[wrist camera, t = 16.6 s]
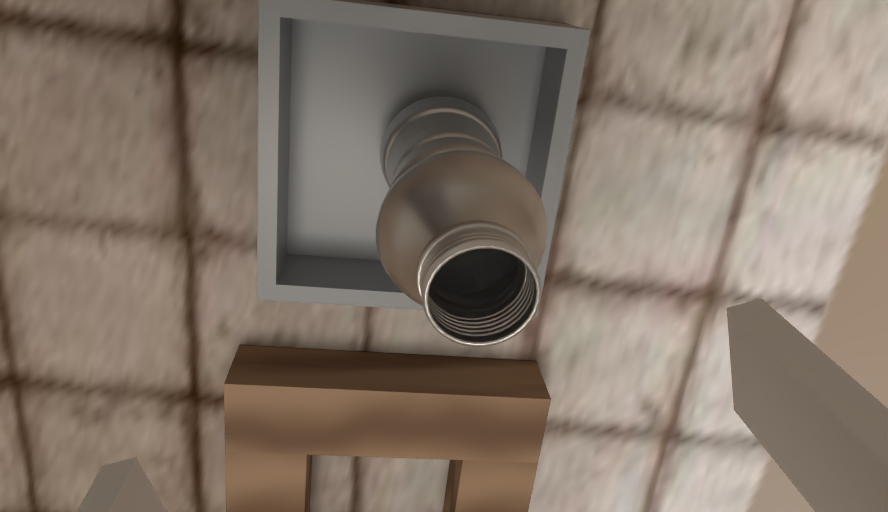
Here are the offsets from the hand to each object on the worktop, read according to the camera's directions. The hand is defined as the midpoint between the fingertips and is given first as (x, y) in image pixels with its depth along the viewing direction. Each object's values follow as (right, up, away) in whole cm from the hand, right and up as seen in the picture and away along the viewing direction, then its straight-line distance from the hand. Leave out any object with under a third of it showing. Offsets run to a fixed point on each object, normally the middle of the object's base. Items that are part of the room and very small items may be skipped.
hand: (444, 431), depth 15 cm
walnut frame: (-5, -12, +34) cm, 36 cm away
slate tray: (-2, +10, +25) cm, 27 cm away
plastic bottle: (0, +10, +24) cm, 26 cm away
